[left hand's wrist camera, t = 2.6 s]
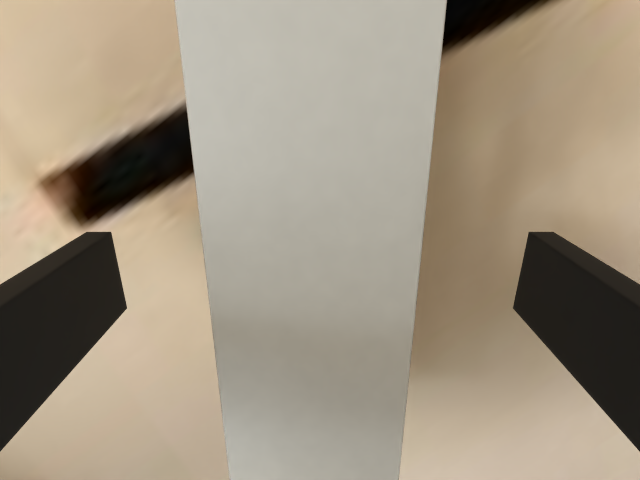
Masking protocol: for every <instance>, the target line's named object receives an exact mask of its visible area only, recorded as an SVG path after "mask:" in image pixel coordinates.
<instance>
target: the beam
mask: <svg viewBox="0 0 640 480" xmlns="http://www.w3.org/2000/svg"><path fill="white" fill-rule="evenodd" d="M446 3H447V0H175V9H176V18H177V26H178V35H179V44H180V53H181V61H182V70H183V79H184V87H185V96H186V105H187V113H188V122H189V131H190V139H191V148H192V157H193V165H194V174H195V183H196V191H197V200H198V209H199V217H200V226H201V235H202V243H203V252H204V261H205V270H206V278H207V287H208V296H209V304H210V313H211V322H212V330H213V339H214V348H215V356H216V365H217V374H218V382H219V391H220V400H221V408H222V417H223V426H224V434H225V443H226V452H227V460H228V469H229V478H230V480H399V472H400V462H401V452H402V442H403V432H404V422H405V412H406V402H407V392H408V382H409V372H410V362H411V352H412V342H413V332H414V322H415V312H416V302H417V292H418V282H419V272H420V263H421V253H422V243H423V233H424V223H425V213H426V203H427V193H428V183H429V173H430V163H431V153H432V143H433V133H434V123H435V113H436V103H437V93H438V83H439V73H440V63H441V53H442V43H443V33H444V23H445V13H446Z"/></svg>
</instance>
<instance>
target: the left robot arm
mask: <svg viewBox="0 0 640 480" xmlns="http://www.w3.org/2000/svg"><path fill="white" fill-rule="evenodd" d="M126 309H127V306H126V301H125V296H124V292H123V287H122V282H121V277H120V272H119V268H118V263H117V258H116V253H115V248H114V244H113V239H112V234H111V232H86V233H84V234H83V235H81V236H79V237H78V238H76V239H74V240H73V241H71V242H69V243H68V244H66V245H64V246H63V247H61V248H60V249H58V250H56V251H55V252H53V253H51V254H50V255H48V256H46V257H45V258H43V259H41V260H40V261H38V262H37V263H35V264H33V265H32V266H30V267H28V268H27V269H25V270H23V271H22V272H20V273H18V274H17V275H15V276H14V277H12V278H10V279H9V280H7V281H5V282H4V283H2V284H0V451H1V450H2V449H3V448H4V447H5V446H6V444H7V443H8V442H9V441H10V440H11V439H12V438H13V436H14V435H15V434H16V433H17V432H18V431H19V430H20V429H21V427H22V426H23V425H24V424H25V423H26V422H27V421H28V420H29V418H30V417H31V416H32V415H33V414H34V413H35V412H36V410H37V409H38V408H39V407H40V406H41V405H42V404H43V403H44V401H45V400H46V399H47V398H48V397H49V396H50V395H51V394H52V392H53V391H54V390H55V389H56V388H57V387H58V386H59V384H60V383H61V382H62V381H63V380H64V379H65V378H66V377H67V375H68V374H69V373H70V372H71V371H72V370H73V369H74V368H75V366H76V365H77V364H78V363H79V362H80V361H81V360H82V358H83V357H84V356H85V355H86V354H87V353H88V352H89V351H90V349H91V348H92V347H93V346H94V345H95V344H96V343H97V342H98V340H99V339H100V338H101V337H102V336H103V335H104V334H105V332H106V331H107V330H108V329H109V328H110V327H111V326H112V325H113V323H114V322H115V321H116V320H117V319H118V318H119V317H120V316H121V314H122V313H123V312H124V311H125V310H126ZM513 309H514V310H515V311H516V312H517V313H518V314H519V316H520V317H521V318H522V319H523V320H524V321H525V322H526V323H527V325H528V326H529V327H530V328H531V329H532V330H533V331H534V332H535V334H536V335H537V336H538V337H539V338H540V339H541V340H542V342H543V343H544V344H545V345H546V346H547V347H548V348H549V349H550V351H551V352H552V353H553V354H554V355H555V356H556V357H557V358H558V360H559V361H560V362H561V363H562V364H563V365H564V366H565V368H566V369H567V370H568V371H569V372H570V373H571V374H572V375H573V377H574V378H575V379H576V380H577V381H578V382H579V383H580V384H581V386H582V387H583V388H584V389H585V390H586V391H587V392H588V394H589V395H590V396H591V397H592V398H593V399H594V400H595V401H596V403H597V404H598V405H599V406H600V407H601V408H602V409H603V410H604V412H605V413H606V414H607V415H608V416H609V417H610V418H611V420H612V421H613V422H614V423H615V424H616V425H617V426H618V427H619V429H620V430H621V431H622V432H623V433H624V434H625V435H626V436H627V438H628V439H629V440H630V441H631V442H632V443H633V444H634V446H635V447H636V448H637V449H638V450H639V451H640V284H638V283H636V282H635V281H633V280H631V279H630V278H628V277H626V276H625V275H623V274H622V273H620V272H618V271H617V270H615V269H613V268H612V267H610V266H608V265H607V264H605V263H603V262H602V261H600V260H599V259H597V258H595V257H594V256H592V255H590V254H589V253H587V252H585V251H584V250H582V249H580V248H579V247H577V246H576V245H574V244H572V243H571V242H569V241H567V240H566V239H564V238H562V237H561V236H559V235H557V234H556V233H554V232H529V234H528V239H527V244H526V248H525V253H524V258H523V263H522V268H521V272H520V277H519V282H518V287H517V292H516V296H515V301H514V306H513Z"/></svg>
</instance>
